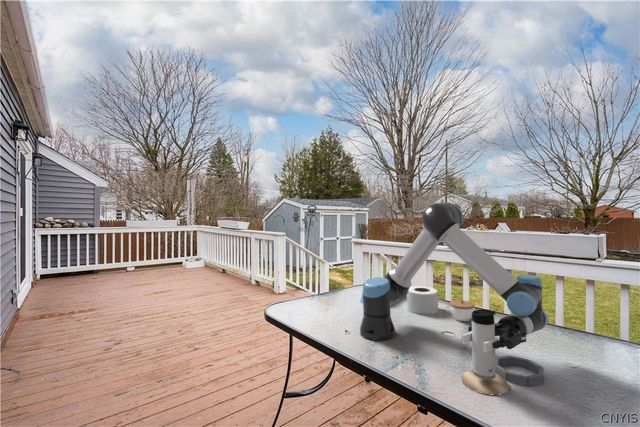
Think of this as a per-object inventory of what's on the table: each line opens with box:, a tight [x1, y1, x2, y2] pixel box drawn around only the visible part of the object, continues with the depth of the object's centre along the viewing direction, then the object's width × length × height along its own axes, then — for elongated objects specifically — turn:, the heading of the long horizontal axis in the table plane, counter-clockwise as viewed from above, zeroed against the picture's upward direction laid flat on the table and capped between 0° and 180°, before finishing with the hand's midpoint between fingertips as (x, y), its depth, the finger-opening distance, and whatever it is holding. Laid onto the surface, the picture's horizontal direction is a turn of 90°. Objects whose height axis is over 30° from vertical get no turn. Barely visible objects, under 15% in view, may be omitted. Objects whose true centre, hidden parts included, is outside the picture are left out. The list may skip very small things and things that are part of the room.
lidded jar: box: [449, 299, 475, 322], centre depth 150 cm, size 11×11×9 cm
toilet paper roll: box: [406, 285, 439, 316], centre depth 166 cm, size 16×15×11 cm
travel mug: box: [471, 309, 497, 380], centre depth 97 cm, size 6×7×20 cm
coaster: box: [460, 369, 510, 396], centre depth 97 cm, size 13×13×1 cm
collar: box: [495, 355, 545, 387], centre depth 102 cm, size 14×14×2 cm
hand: (473, 343), depth 94 cm, fingers closed on travel mug, 6 cm apart
